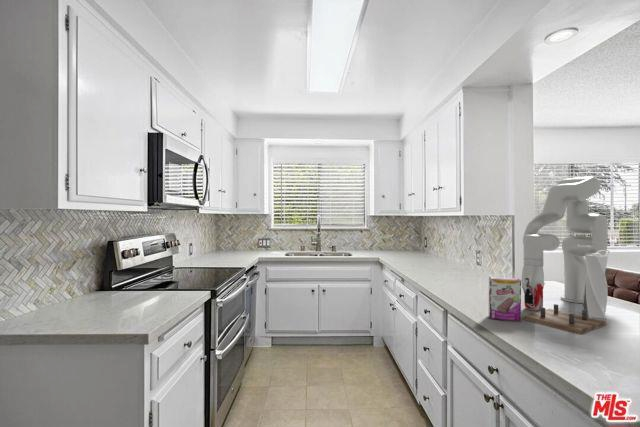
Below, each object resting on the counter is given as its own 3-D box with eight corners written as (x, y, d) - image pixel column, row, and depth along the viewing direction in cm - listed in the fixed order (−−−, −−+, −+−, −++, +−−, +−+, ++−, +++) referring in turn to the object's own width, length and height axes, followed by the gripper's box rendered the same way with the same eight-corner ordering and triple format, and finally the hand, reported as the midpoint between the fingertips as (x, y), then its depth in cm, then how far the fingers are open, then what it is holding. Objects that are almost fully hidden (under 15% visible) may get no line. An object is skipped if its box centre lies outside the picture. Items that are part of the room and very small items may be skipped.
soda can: (546, 311, 147) (545, 284, 148) (528, 311, 149) (527, 283, 149) (539, 307, 154) (538, 281, 154) (521, 306, 156) (521, 280, 156)
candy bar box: (490, 319, 137) (489, 278, 137) (488, 316, 142) (488, 276, 142) (521, 322, 133) (521, 280, 133) (518, 318, 138) (518, 278, 138)
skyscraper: (608, 316, 142) (607, 249, 142) (611, 321, 135) (610, 250, 135) (582, 313, 146) (582, 248, 147) (584, 318, 140) (583, 249, 140)
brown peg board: (549, 312, 147) (549, 300, 147) (606, 325, 130) (606, 311, 130) (523, 319, 137) (523, 306, 137) (580, 334, 120) (580, 319, 120)
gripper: (535, 260, 159) (535, 298, 159) (513, 262, 151) (513, 303, 151) (552, 262, 153) (553, 301, 153) (531, 264, 144) (531, 306, 144)
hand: (533, 302), depth 152 cm, fingers closed on soda can, 7 cm apart
